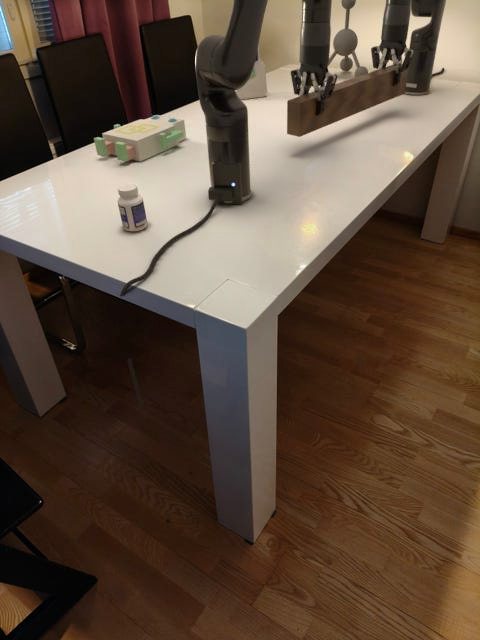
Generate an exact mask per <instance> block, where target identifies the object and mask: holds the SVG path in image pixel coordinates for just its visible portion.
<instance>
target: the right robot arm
mask: <svg viewBox="0 0 480 640" xmlns="http://www.w3.org/2000/svg"><path fill="white" fill-rule="evenodd" d="M446 3H447V0H385V6H384V10H383V18H382V27H381V34H380V40H381V41H380V44H379V45H375V46H372V47H371V48H370V52H371V61H372V68H373V69H376V70H379V69H381V68H384V67H387V66H388V63H389V61H391V62H392V65H394V69H395V73H394V79H393V86H397V85H398V84H399V83H400V78H401V73H402V72H403V71H405V70H407V69H408V67H409V69H408V76H407V82H406V89H405V94H406V95H410V96H423V95H427V94H429V93H430V87H431V83H432V78H433V77H435V76H437V75H442V74H443V73H444V72H445V68H444V67H442V68H441V70H440V71H438V72H434V73H433V71H434V66H435V59H436V53H437V49H438V42H439V36H440V32H441V26H442V22H443V16H444V11H445V7H446ZM411 15H412V17H415V18H430V20H429V22H428V23H427V24H425V25H423V26H421V27H418V28H415V29H414V30H412V31H411V35H410V41H409V47H407V40H408V35H409V34H408V32H409V27H410V20H411ZM380 53H381V56H380ZM403 55H404V59H403ZM405 94H404V95H405Z"/></svg>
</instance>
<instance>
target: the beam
mask: <svg viewBox="0 0 480 640" xmlns="http://www.w3.org/2000/svg"><path fill="white" fill-rule="evenodd" d="M408 69H409V67H408ZM408 69H407V70H405V71H403V72H402V73H401V78H400V83H399V84H398V85H397V86H393V79H394V73H395V69H394V65H393V64H391V65H386V67H384V68H381V69H379V70H378V69H376V70H373V71H370V72H368V73H367V74H364V75H361V76H358V77H355V76H354V77H352V78H349V79H346V80H343V81H340V82H338V83H337V82H336V84H335V87H334V90H333V94H332V97H331V98H328V99H325V105H324V112H323V114H322V115H319V116H317V115H316V101H317V97H316V92H315V91H314V90H313V91H310V92H309V93H308V94H305V95H302V96H299V95H298V96H297V97H293V98H290V99H288V100H287V101H286V107H287V108H286V135H290V136H294V137H298V138H300V137H303V136H305V135H308V134H310V133H313V132H315V131H317V130H320V129H322V128H325V127H327V126H330V125H332V124H334V123H337V122H340V121H341V120H344V119H347V118H349V117H351V116H354V115H357V114H358V113H361V112H364V111H367V110H369V109H371V108H373V107H376V106H379V105H381V104H384V103H387V102H388V101H390V100H393V99H395V98H397V97H400V96H403V95H405V89H406V82H407V76H408Z"/></svg>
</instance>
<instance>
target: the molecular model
mask: <svg viewBox="0 0 480 640" xmlns="http://www.w3.org/2000/svg"><path fill="white" fill-rule="evenodd" d="M340 2H341V6H342V8H343V9H344V10H345V20H344V28H342V29H340V30H339V31H338V32H337V33H336V34H335V36H334V38H333V42H332V47H333V50H334V51H333V52H332V54H330V56H329V62H328V65H327V67H328V68H329V66H330V64H331V63H332V62H333V61H334V59H335V57H336V56H337V55H338V56H341V57H343V58H342V59H341V60H340V62H339V67H340V68H339V69H340V70H341V71H343V72H349V71H351V69H353V66H354V63H355V66H356V69H355V70H354V74H353V76H354V78H355V77H358V76H361V75H364V74H367V73H369V70H368V67H366V66H363V65H360V62H359V59H358V56H357V53H356V49H357V47H358V42H359V41H358V40H359V39H358V35H357V34H356V32H355V31H354V30H353V29H351V28H350V27H349V26H350V15H351V13H350V12H351V9H353V8H354V7H355V5H356V3H357V0H341V1H340ZM350 55H351V56H352V58H353V59H352V58H351V57H349V56H350ZM353 61H354V62H353Z"/></svg>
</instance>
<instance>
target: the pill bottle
mask: <svg viewBox="0 0 480 640" xmlns="http://www.w3.org/2000/svg"><path fill="white" fill-rule="evenodd" d="M117 193H118V196H119V197H118V199H117V206H118V210H119V211H118V212H119V215H120V219H121V224H122V227H123V229H124V230H125V231H128V232H138V231H141V230H144V229H146V227H147V226H148V217H147V214H146V208H145V203H144V198H143V196H142V195H141V194H139V188H138V185H137V184H135V183H132V182H131V183H123V184H121V185H119V186H118V187H117Z"/></svg>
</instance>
